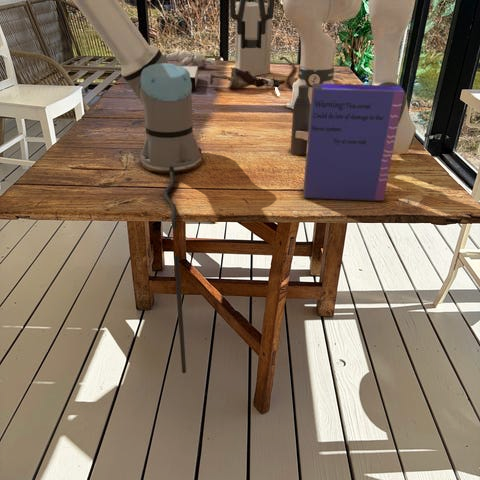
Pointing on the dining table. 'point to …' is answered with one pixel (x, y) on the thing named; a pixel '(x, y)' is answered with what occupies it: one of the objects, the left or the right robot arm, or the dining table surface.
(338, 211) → the dining table surface
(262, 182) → the dining table surface
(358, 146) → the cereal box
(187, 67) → the disc drive
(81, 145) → the dining table surface
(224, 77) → the figurine
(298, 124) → the bottle
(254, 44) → the cap
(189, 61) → the toy
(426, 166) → the dining table surface
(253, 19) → the paper bag
